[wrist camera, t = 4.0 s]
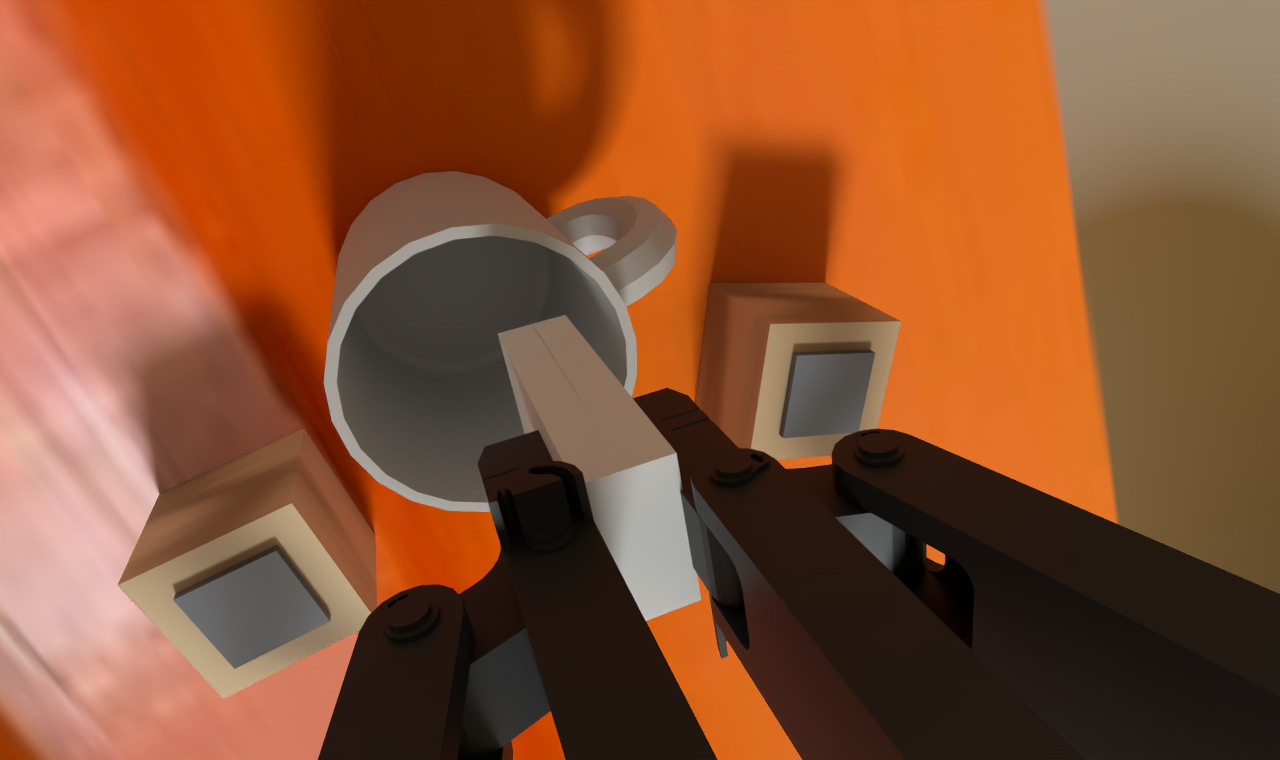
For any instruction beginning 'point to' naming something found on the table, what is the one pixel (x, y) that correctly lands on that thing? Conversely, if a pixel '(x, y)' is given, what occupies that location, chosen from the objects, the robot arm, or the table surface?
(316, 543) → the oak block
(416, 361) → the cup
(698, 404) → the oak block
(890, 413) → the table surface
